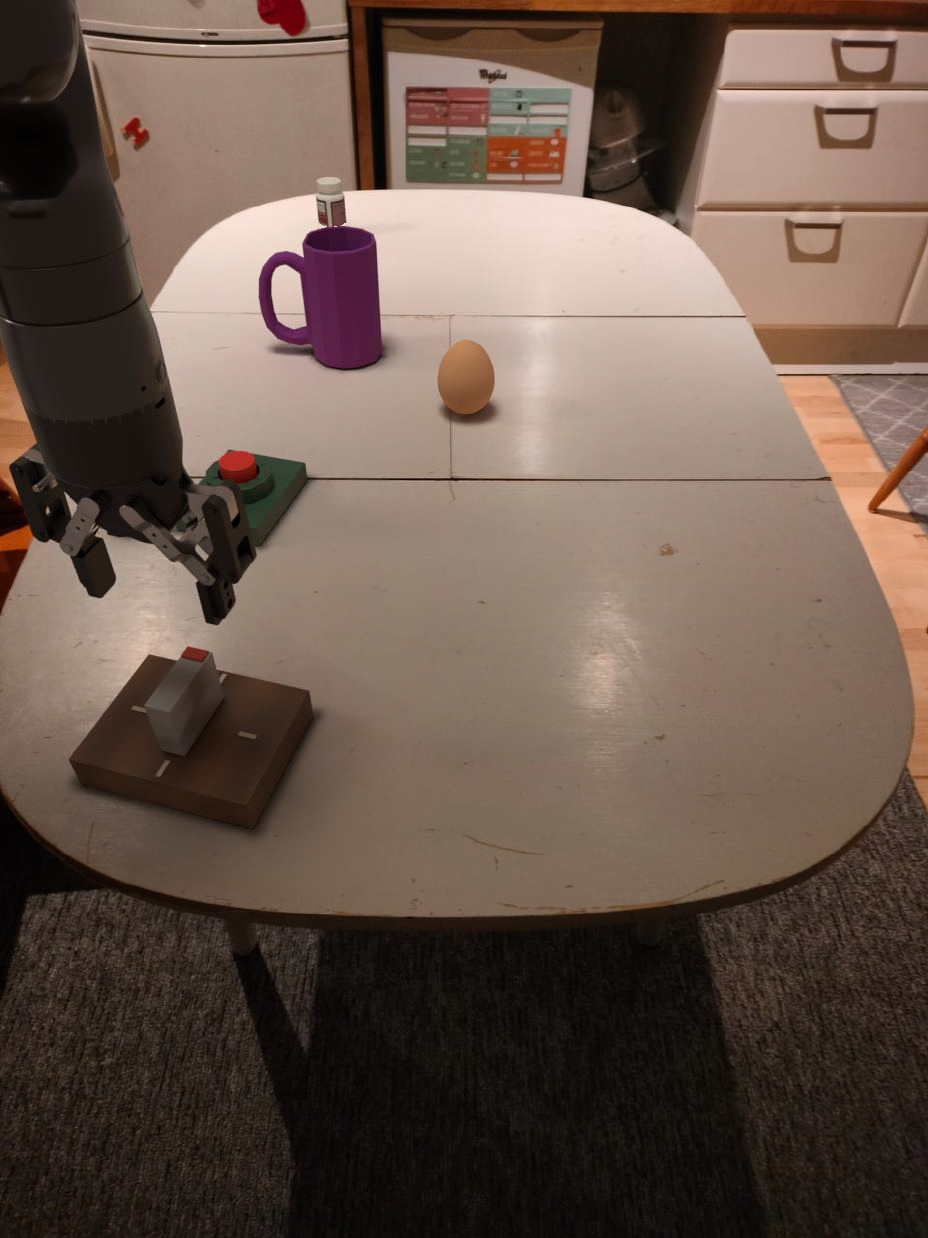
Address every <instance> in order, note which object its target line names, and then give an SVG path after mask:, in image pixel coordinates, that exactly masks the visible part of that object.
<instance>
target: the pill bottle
mask: <svg viewBox="0 0 928 1238" xmlns="http://www.w3.org/2000/svg"><path fill="white" fill-rule="evenodd" d="M316 188H317V193H316V194H315V201H316V210H317V221H319V222H318V224H319V223H320V224H321V225H323V226H327V227H334V226H341V225H343V224H344V223H347V212H346V200H345V197H346V196H345V193H344V192H343V191H342V190H343V189H342V188H343V187H342V179H340V178H339V177H335V176H325V177H320V178H318V179H317V180H316Z"/></svg>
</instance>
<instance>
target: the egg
mask: <svg viewBox="0 0 928 1238" xmlns="http://www.w3.org/2000/svg"><path fill="white" fill-rule="evenodd" d="M436 381H437V390H438V393H439V395H440V397H441V400H442V401H443V403H444V404H445V406H447V408H449V410H452V411H453V412H455V413H457V414H460V415H472V414H474V413H477V412H478V411H480V410H482V409H483V408H484V407H485V406H486V405H487V404H488V402H489V401H490V399H491V398H492V396H493V393H494V389H495V369H494V365H493V363H492V360H491V358H490V355H489V354H488V353H487V351H486V350H485V348H484V347H483V346H482V345H481V344H479V343H477V342H475V341H474V340H470V339H463V340H459V341H457V342H455V343H454V344H452V345H451V346H450V347H449V348H448V349H447V351H446V352H445V354H444V355H443V356H442V359H441V362H440V363H439V366H438V371H437V380H436Z"/></svg>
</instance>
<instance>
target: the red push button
mask: <svg viewBox="0 0 928 1238" xmlns="http://www.w3.org/2000/svg"><path fill="white" fill-rule="evenodd" d="M225 453H226V452H225ZM225 453H224V454H222V455H221V456H220V457H219V458H218V460H219V461H218V464H219V469H220V474H221V478H222V480H225V479H230V480H233V481H235V482H236V483H237V484H239V483H246V482H248V481H250V480H253V479H255V477H256V476H257V468H256V462H255V457H254V456H253V455H252V454H253V453H252V452H250V451H245V450H235V451H233V452H229V453H226V454H225ZM251 453H252V454H251Z"/></svg>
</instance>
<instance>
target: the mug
mask: <svg viewBox="0 0 928 1238" xmlns="http://www.w3.org/2000/svg"><path fill="white" fill-rule="evenodd" d="M377 245H378V244H377V240H376V237H375V234H374V233H373V232H370V231H368V230H366V229H364V228H361V227H354V226H348V225H347V226H337V227H325V228H321V229H319V228H318V229H314V230H311V231H309V232H308V233H307V234H306V235H305V237H304V239H303V241H302V243H301V246H302V255H303V256H302V255H300V254H299V253H296V252H294V251H289V250H284V251H278V252H274V253H273V254H272V255H271V256H270V257H269V258H268V259H267V260H266V261H265V263H264V264H263V265H262V268H261V271H260V274H259V277H258V302H259V309H260V314H261V316H262V318H263V321H264V324H265V326H266V328H267V329H268V330H269V332H270V333H271V334H272V335H273V336H274V337H275V338H276V339H277V340H279V341H281V342H284V343H287V344H289V345H294V346H295V345H296V346H306V345H310V346H311V347H312V348H313V351H314V352H313V353H314V354H313V355H314V357H315V359H316V360H318V361H319V362H321V363H322V364H324V365H325V366H327V367H332V368H338V369H342V370H343V369H356V368H362V367H364V366H367V365H370V364H372V363H374V362H376V361H377V359H378V358H379V357H380V356H381V355H382V353H383V341H382V339H383V338H382V322H381V303H380V301H381V300H380V283H379V281H380V280H379V265H378V264H379V263H378V248H377V247H378V246H377ZM280 266H281V267H282V266H287V267H289V268H291V270H293V271H295V272H296V273H298V274H299V277H300V285H301V286H300V287H301V294H302V301H303V302H302V303H303V309H304V317H305V323H306V324H305V325H304V326H301V327H297V328H291V327H288V326H286V325H285V324H283V323H282V322H281V321H279V319H278V317H277V315H276V311H275V307H274V301H273V293H272V291H273V287H272V285H273V276H274V273H275V271H276V269H278V268H279V267H280Z"/></svg>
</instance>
